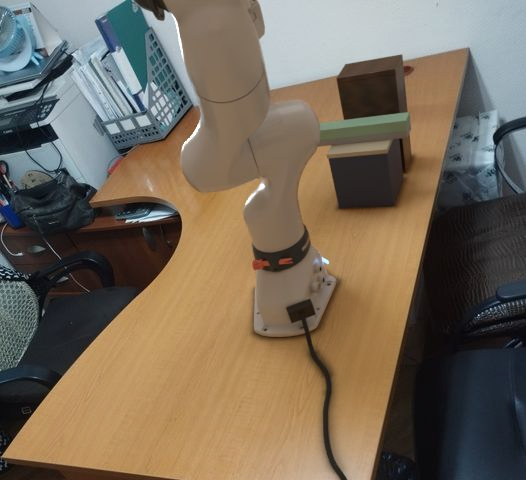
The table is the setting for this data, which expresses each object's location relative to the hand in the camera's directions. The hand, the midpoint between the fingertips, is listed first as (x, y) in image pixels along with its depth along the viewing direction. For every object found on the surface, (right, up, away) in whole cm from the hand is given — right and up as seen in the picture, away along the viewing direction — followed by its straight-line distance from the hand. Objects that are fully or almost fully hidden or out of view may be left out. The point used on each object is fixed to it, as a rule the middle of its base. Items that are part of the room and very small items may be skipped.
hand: (250, 73), depth 117 cm
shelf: (+36, -13, +22) cm, 44 cm away
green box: (+27, -13, +4) cm, 30 cm away
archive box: (+31, -23, +15) cm, 41 cm away
